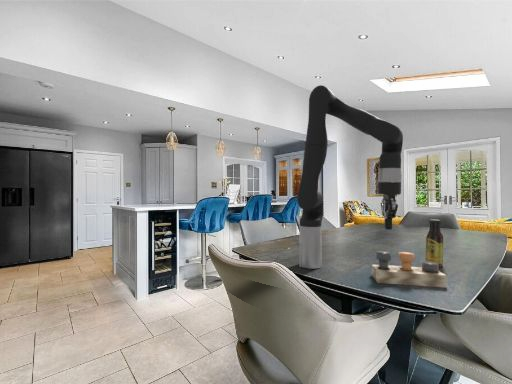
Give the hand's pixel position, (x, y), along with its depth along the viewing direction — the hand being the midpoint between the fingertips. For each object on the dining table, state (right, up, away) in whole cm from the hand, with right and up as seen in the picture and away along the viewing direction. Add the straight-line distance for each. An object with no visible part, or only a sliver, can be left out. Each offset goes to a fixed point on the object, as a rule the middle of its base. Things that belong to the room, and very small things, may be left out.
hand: (388, 229), depth 93 cm
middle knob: (+6, -15, -2) cm, 16 cm away
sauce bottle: (+29, -19, +17) cm, 39 cm away
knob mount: (+6, -18, -2) cm, 19 cm away
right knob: (+13, -18, -4) cm, 22 cm away
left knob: (-2, -15, 0) cm, 15 cm away
